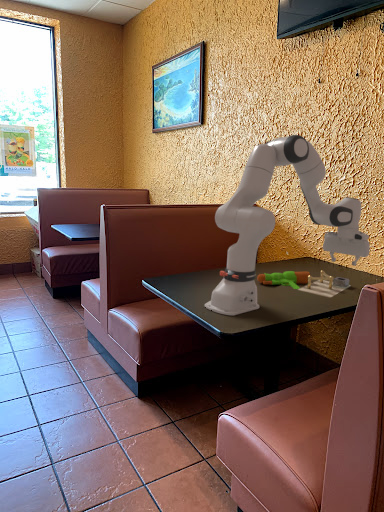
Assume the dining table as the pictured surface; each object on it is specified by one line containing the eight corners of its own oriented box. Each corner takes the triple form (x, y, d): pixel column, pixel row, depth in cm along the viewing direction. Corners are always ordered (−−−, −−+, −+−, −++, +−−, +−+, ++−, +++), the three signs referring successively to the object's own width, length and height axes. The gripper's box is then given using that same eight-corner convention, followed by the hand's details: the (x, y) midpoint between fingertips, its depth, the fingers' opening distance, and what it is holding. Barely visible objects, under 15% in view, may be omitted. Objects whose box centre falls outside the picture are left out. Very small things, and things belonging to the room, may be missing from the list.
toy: (318, 283, 168) (308, 268, 181) (262, 284, 168) (256, 269, 182) (316, 296, 171) (307, 280, 184) (261, 297, 171) (256, 281, 185)
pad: (345, 289, 172) (345, 288, 172) (330, 285, 176) (330, 285, 176) (350, 286, 177) (350, 285, 177) (336, 282, 182) (336, 282, 182)
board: (329, 300, 159) (330, 297, 159) (296, 292, 168) (297, 289, 168) (350, 288, 177) (350, 286, 177) (319, 281, 187) (319, 279, 187)
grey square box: (344, 287, 173) (345, 281, 172) (332, 285, 176) (333, 278, 176) (348, 285, 177) (349, 279, 176) (337, 282, 180) (337, 276, 180)
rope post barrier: (325, 293, 164) (326, 279, 163) (305, 288, 170) (307, 275, 169) (338, 286, 176) (340, 273, 175) (320, 281, 182) (321, 269, 181)
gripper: (322, 231, 176) (318, 260, 178) (368, 237, 162) (363, 268, 165) (327, 230, 180) (324, 258, 183) (372, 236, 167) (368, 266, 170)
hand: (343, 263), depth 174 cm, fingers open, 8 cm apart
